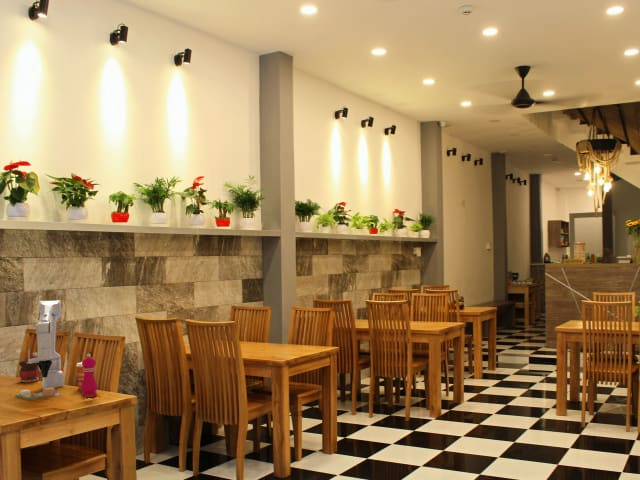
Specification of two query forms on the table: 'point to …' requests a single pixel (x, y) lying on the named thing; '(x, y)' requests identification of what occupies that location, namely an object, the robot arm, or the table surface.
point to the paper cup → (80, 374)
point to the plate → (46, 396)
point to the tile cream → (25, 393)
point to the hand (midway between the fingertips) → (44, 377)
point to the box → (30, 397)
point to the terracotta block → (49, 391)
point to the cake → (29, 369)
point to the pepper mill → (89, 377)
